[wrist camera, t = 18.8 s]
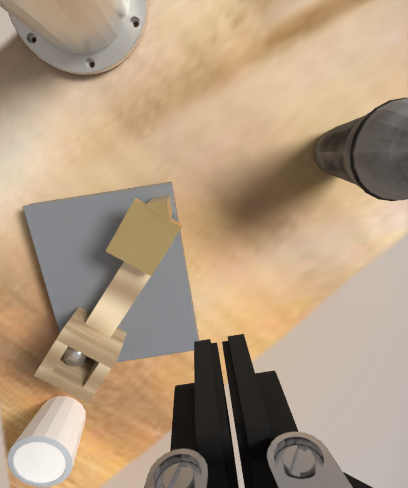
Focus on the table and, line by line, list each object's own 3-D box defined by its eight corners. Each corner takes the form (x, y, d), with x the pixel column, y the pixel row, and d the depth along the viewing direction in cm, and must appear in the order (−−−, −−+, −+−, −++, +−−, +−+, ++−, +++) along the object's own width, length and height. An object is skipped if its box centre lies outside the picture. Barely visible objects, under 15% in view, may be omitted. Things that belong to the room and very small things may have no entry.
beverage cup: (339, 199, 38) (495, 250, 18) (287, 160, 36) (396, 170, 17) (384, 142, 36) (605, 132, 17) (331, 99, 35) (505, 35, 16)
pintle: (78, 323, 40) (60, 349, 35) (96, 320, 40) (82, 346, 35) (82, 339, 41) (66, 368, 36) (100, 337, 41) (87, 364, 36)
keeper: (150, 180, 36) (141, 186, 30) (189, 203, 37) (189, 214, 31) (119, 234, 38) (105, 251, 31) (157, 256, 38) (151, 276, 32)
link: (135, 215, 35) (126, 225, 30) (185, 246, 36) (183, 260, 31) (53, 347, 39) (33, 375, 34) (100, 372, 40) (88, 403, 35)
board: (31, 203, 36) (22, 206, 35) (171, 181, 36) (170, 183, 34) (75, 359, 41) (70, 369, 40) (199, 340, 41) (199, 349, 39)
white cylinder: (32, 431, 44) (3, 482, 37) (39, 386, 42) (10, 431, 36) (86, 441, 45) (67, 493, 38) (95, 397, 43) (77, 443, 36)
